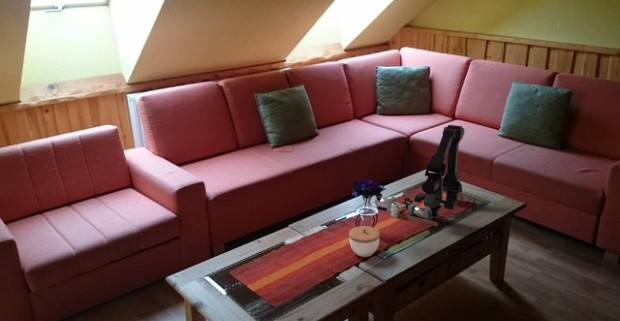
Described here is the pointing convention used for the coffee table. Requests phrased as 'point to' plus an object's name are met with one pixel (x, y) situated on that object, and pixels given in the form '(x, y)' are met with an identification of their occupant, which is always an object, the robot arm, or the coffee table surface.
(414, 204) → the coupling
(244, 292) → the coffee table surface
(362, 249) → the lidded bowl
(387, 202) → the pipe stub
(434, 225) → the cradle rails
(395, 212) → the valve
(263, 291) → the coffee table surface
